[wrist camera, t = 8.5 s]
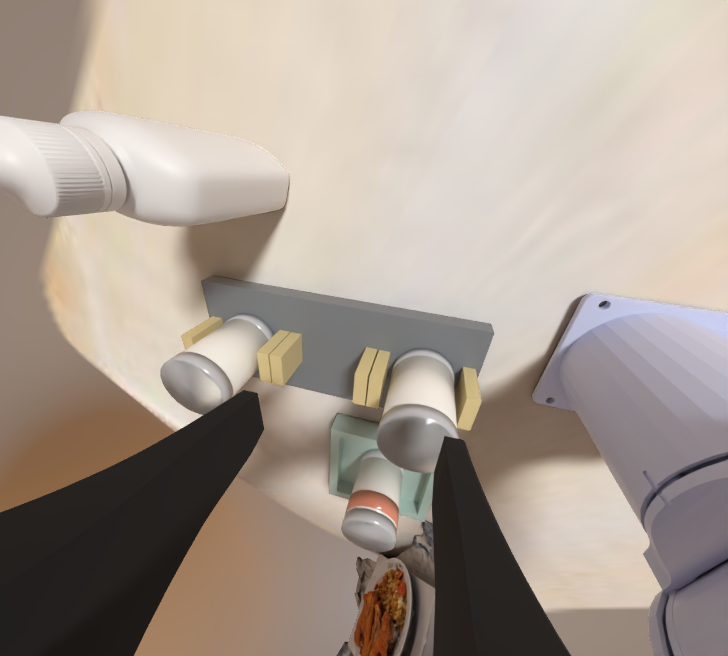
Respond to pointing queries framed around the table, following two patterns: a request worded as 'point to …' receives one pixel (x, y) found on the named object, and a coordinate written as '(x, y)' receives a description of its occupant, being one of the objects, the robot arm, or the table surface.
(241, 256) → the table surface
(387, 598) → the meal
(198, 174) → the eye dropper bottle
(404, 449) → the fuse
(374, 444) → the tray
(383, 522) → the cylinder
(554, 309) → the table surface
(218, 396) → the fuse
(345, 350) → the fuse holder
